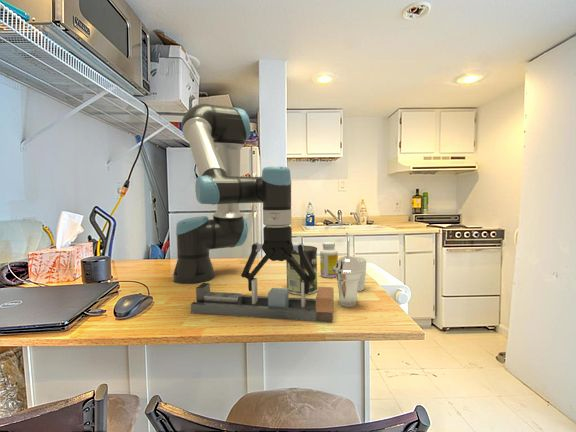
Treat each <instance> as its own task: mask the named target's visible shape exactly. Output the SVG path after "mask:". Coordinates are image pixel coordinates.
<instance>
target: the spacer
mask: <svg viewBox="0 0 576 432" xmlns="http://www.w3.org/2000/svg"><path fill="white" fill-rule="evenodd" d="M289 294H290V293H289V291H288V289H287V287H285V288H283V287H281V288H280V287H271V289H270V290H269V291H268V293H267V296H268V307H285V308H289V297H290V296H289Z"/></svg>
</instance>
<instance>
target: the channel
mask: <svg viewBox="0 0 576 432" xmlns="http://www.w3.org/2000/svg"><path fill="white" fill-rule="evenodd" d="M334 293H335V292H334V286H332V287H331V286H318V288H317V292H316V296H315V298H307V297H306V304H305V307H301V297H290V296H289V308H285V307H268V295H258V301H257V302H256V303H255V304H252V294H251V295H250V294H249V295H248V294H242V301H243V305H234V304H217V303H201V302H197V301H193V302H191V303H190V314H199V315H201V314H202V315H214V316H215V315H216V316H230V317H243V318H244V317H245V318H260V319H276V320H290V321H302V322H303V321H305V322H316V323H317V322H320V323H322V322H323V323H333V319H334V317H333V316H334V309H335V308H334V306H335V305H334V304H335V303H334V301H335V300H334V298H335V295H334Z"/></svg>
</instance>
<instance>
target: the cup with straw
mask: <svg viewBox="0 0 576 432" xmlns="http://www.w3.org/2000/svg"><path fill="white" fill-rule="evenodd" d="M345 237H346V255H345V256H341V258H338V261H337V263H336V266H334V267H333V271H334V272H336V277H335V278H336V282H337V289H338V290H337V292H338V297H339V299H338V300H339V305H341V306H343V307H346V308H347V307H351V308H352V307H355V306H356V305H357V298H358V292H359V291H358V282H359V278H360V273H362V272H363V268H362V267H360V264H359V262H358V261H357V260H356V259H355V258H353V257H354V256H351V255H350V240H351V239H350V236H349V233H348V232H345Z"/></svg>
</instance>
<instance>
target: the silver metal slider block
mask: <svg viewBox="0 0 576 432" xmlns="http://www.w3.org/2000/svg"><path fill="white" fill-rule="evenodd" d="M242 295H243V293H240V292H239V293H238V292H219V291H218V292H217V291H211V283H210V282H208V283H207V282H202V283H200V285H198V286H197V287H195V296H196V297H195V298H196V301H195V302H201V303H217V304H234V305H243V301H242Z"/></svg>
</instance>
